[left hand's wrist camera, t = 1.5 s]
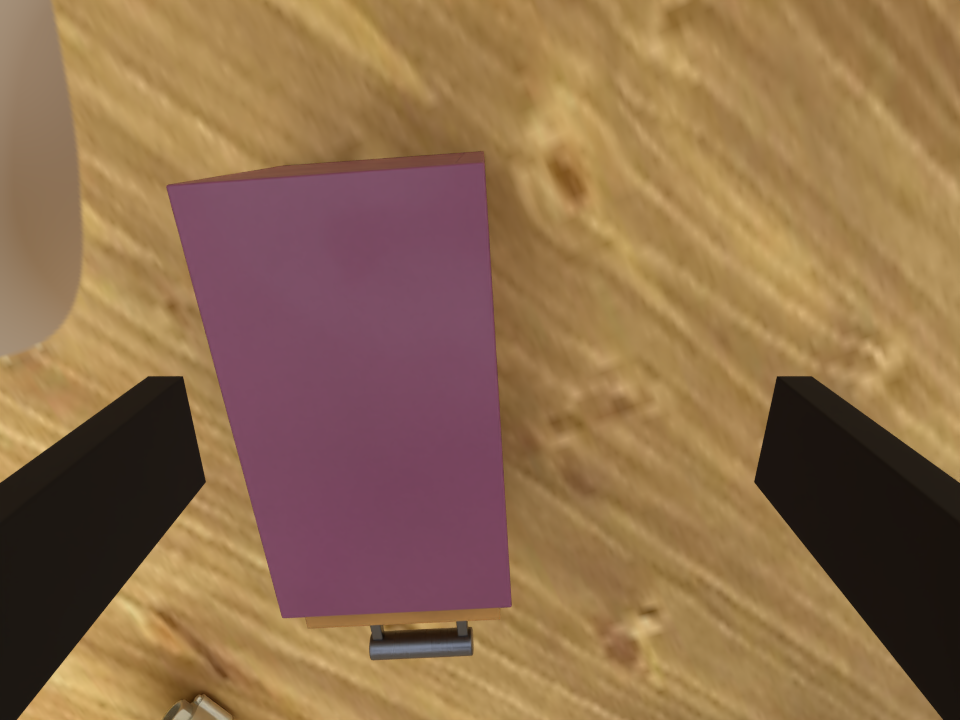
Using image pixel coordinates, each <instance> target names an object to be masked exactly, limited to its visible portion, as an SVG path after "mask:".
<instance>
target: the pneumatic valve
mask: <svg viewBox="0 0 960 720" xmlns="http://www.w3.org/2000/svg"><path fill="white" fill-rule="evenodd" d="M232 718H233V716H232V715H231V714H230V713H228V712H227V711H226V710H224V709H223V708H222V707H220V706H219V705H218V704H216V703H215V702H214V701H213V700H211V699H210V698H209V697H207V696H206V695H205V694H203V695H200V694H199V695H197V696H196V697H195V699H194V701H193V702H191V703H189V702H188V701H186V700H185V699H183V700H180V701H178V702H176V703H175V704H174V705H173V706H172V707H171V708H170V709H169V710H168V711H167V713H166V714H165V715H164V717H163V719H162V720H233V719H232Z"/></svg>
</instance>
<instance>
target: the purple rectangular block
mask: <svg viewBox="0 0 960 720" xmlns="http://www.w3.org/2000/svg"><path fill="white" fill-rule="evenodd" d="M167 191H168V195H169V199H170V202H171V206H172V210H173V214H174V217H175V221H176V225H177V228H178V232H179V236H180V240H181V243H182V247H183V251H184V254H185V258H186V262H187V266H188V269H189V273H190V277H191V280H192V284H193V288H194V292H195V295H196V299H197V303H198V306H199V310H200V314H201V318H202V321H203V325H204V329H205V332H206V336H207V340H208V344H209V347H210V351H211V355H212V359H213V362H214V366H215V370H216V373H217V377H218V381H219V385H220V388H221V392H222V396H223V399H224V403H225V407H226V411H227V414H228V418H229V422H230V425H231V429H232V433H233V437H234V440H235V444H236V448H237V451H238V455H239V459H240V463H241V466H242V470H243V474H244V477H245V481H246V485H247V489H248V492H249V496H250V500H251V504H252V507H253V511H254V515H255V518H256V522H257V526H258V530H259V533H260V537H261V541H262V544H263V548H264V552H265V556H266V559H267V563H268V567H269V570H270V574H271V578H272V582H273V585H274V589H275V593H276V596H277V600H278V604H279V608H280V611H281V615H282V618H297V617H318V616H338V615H359V614H380V613H400V612H421V611H442V610H463V609H483V608H504V607H511V605H512V603H511V586H510V570H509V554H508V537H507V521H506V505H505V488H504V472H503V456H502V439H501V423H500V407H499V390H498V374H497V358H496V341H495V325H494V309H493V292H492V276H491V260H490V243H489V227H488V211H487V194H486V178H485V162H484V152H483V151H480V152H466V153H453V154H439V155H425V156H411V157H397V158H384V159H370V160H356V161H342V162H328V163H315V164H301V165H287V166H279V167H273V168H266V169H260V170H254V171H248V172H242V173H236V174H230V175H224V176H218V177H212V178H205V179H199V180H193V181H187V182H182V183H175V184H169V185H167Z"/></svg>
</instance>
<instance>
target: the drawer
mask: <svg viewBox="0 0 960 720" xmlns="http://www.w3.org/2000/svg"><path fill="white" fill-rule="evenodd" d="M305 619H306V623H307V627H308V628H328V627H349V626H369V625H370V627H371V632H372V634H371V637H370V645H369V652H370V658H371V660H389V659H410V658H432V657H454V656H472V655H473V630H472V627H468V621H474V620H495V619H500V608H483V609H463V610H442V611H421V612H400V613H380V614H359V615H338V616H318V617H305ZM453 621H456V623H457V628H439V629H418V630H397V631H384V628H383V625H390V624H411V623H432V622H453Z"/></svg>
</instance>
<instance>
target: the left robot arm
mask: <svg viewBox="0 0 960 720" xmlns="http://www.w3.org/2000/svg"><path fill="white" fill-rule="evenodd" d="M205 482H206V481H205V476H204V472H203V467H202V462H201V458H200V453H199V448H198V444H197V439H196V435H195V430H194V425H193V421H192V416H191V411H190V407H189V402H188V398H187V393H186V388H185V384H184V379H183V376H148V377H147V378H145V379H144V380H143V381H141V382H140V383H138V384H137V385H136V386H134V387H133V388H132V389H130V390H129V391H127V392H126V393H125V394H123V395H122V396H120V397H119V398H118V399H116V400H115V401H113V402H112V403H111V404H109V405H108V406H107V407H105V408H104V409H102V410H101V411H100V412H98V413H97V414H95V415H94V416H93V417H91V418H90V419H88V420H87V421H86V422H84V423H83V424H82V425H80V426H79V427H77V428H76V429H75V430H73V431H72V432H70V433H69V434H68V435H66V436H65V437H63V438H62V439H61V440H59V441H58V442H57V443H55V444H54V445H52V446H51V447H50V448H48V449H47V450H45V451H44V452H43V453H41V454H40V455H39V456H37V457H36V458H34V459H33V460H32V461H30V462H29V463H27V464H26V465H25V466H23V467H22V468H20V469H19V470H18V471H16V472H15V473H14V474H12V475H11V476H9V477H8V478H7V479H5V480H4V481H2V482H1V483H0V720H17V719H18V718H19V716H20V715H21V714H22V712H23V711H24V710H25V709H26V707H27V706H28V705H29V704H30V702H31V701H32V700H33V699H34V697H35V696H36V695H37V694H38V692H39V691H40V690H41V689H42V687H43V686H44V685H45V684H46V682H47V681H48V680H49V679H50V677H51V676H52V675H53V674H54V672H55V671H56V670H57V669H58V667H59V666H60V665H61V663H62V662H63V661H64V660H65V658H66V657H67V656H68V655H69V653H70V652H71V651H72V650H73V648H74V647H75V646H76V645H77V643H78V642H79V641H80V640H81V638H82V637H83V636H84V635H85V633H86V632H87V631H88V630H89V628H90V627H91V626H92V625H93V623H94V622H95V621H96V619H97V618H98V617H99V616H100V614H101V613H102V612H103V611H104V609H105V608H106V607H107V606H108V604H109V603H110V602H111V601H112V599H113V598H114V597H115V596H116V594H117V593H118V592H119V591H120V589H121V588H122V587H123V586H124V584H125V583H126V582H127V581H128V579H129V578H130V577H131V575H132V574H133V573H134V572H135V570H136V569H137V568H138V567H139V565H140V564H141V563H142V562H143V560H144V559H145V558H146V557H147V555H148V554H149V553H150V552H151V550H152V549H153V548H154V547H155V545H156V544H157V543H158V542H159V540H160V539H161V538H162V537H163V535H164V534H165V533H166V532H167V530H168V529H169V528H170V526H171V525H172V524H173V523H174V521H175V520H176V519H177V518H178V516H179V515H180V514H181V513H182V511H183V510H184V509H185V508H186V506H187V505H188V504H189V503H190V501H191V500H192V499H193V498H194V496H195V495H196V494H197V493H198V491H199V490H200V489H201V488H202V486H203V485H204V484H205ZM754 482H755V484H756V485H757V486H758V488H759V489H760V490H761V491H762V493H763V494H764V495H765V496H766V498H767V499H768V500H769V501H770V503H771V504H772V505H773V506H774V508H775V509H776V510H777V511H778V513H779V514H780V515H781V516H782V518H783V519H784V520H785V521H786V523H787V524H788V525H789V526H790V528H791V529H792V530H793V532H794V533H795V534H796V535H797V537H798V538H799V539H800V540H801V542H802V543H803V544H804V545H805V547H806V548H807V549H808V550H809V552H810V553H811V554H812V555H813V557H814V558H815V559H816V560H817V562H818V563H819V564H820V565H821V567H822V568H823V569H824V570H825V572H826V573H827V574H828V575H829V577H830V578H831V579H832V581H833V582H834V583H835V584H836V586H837V587H838V588H839V589H840V591H841V592H842V593H843V594H844V596H845V597H846V598H847V599H848V601H849V602H850V603H851V604H852V606H853V607H854V608H855V609H856V611H857V612H858V613H859V614H860V616H861V617H862V618H863V619H864V621H865V622H866V623H867V625H868V626H869V627H870V628H871V630H872V631H873V632H874V633H875V635H876V636H877V637H878V638H879V640H880V641H881V642H882V643H883V645H884V646H885V647H886V648H887V650H888V651H889V652H890V653H891V655H892V656H893V657H894V658H895V660H896V661H897V662H898V663H899V665H900V666H901V667H902V669H903V670H904V671H905V672H906V674H907V675H908V676H909V677H910V679H911V680H912V681H913V682H914V684H915V685H916V686H917V687H918V689H919V690H920V691H921V692H922V694H923V695H924V696H925V697H926V699H927V700H928V701H929V702H930V704H931V705H932V706H933V707H934V709H935V710H936V711H937V712H938V714H939V715H940V716H941V718H942V719H943V720H960V483H959V482H958V481H956V480H955V479H953V478H952V477H951V476H949V475H948V474H946V473H945V472H944V471H942V470H941V469H940V468H938V467H937V466H935V465H934V464H933V463H931V462H930V461H928V460H927V459H926V458H924V457H923V456H921V455H920V454H919V453H917V452H916V451H915V450H913V449H912V448H910V447H909V446H908V445H906V444H905V443H903V442H902V441H901V440H899V439H898V438H897V437H895V436H894V435H892V434H891V433H890V432H888V431H887V430H885V429H884V428H883V427H881V426H880V425H878V424H877V423H876V422H874V421H873V420H872V419H870V418H869V417H867V416H866V415H865V414H863V413H862V412H860V411H859V410H858V409H856V408H855V407H853V406H852V405H851V404H849V403H848V402H847V401H845V400H844V399H842V398H841V397H840V396H838V395H837V394H835V393H834V392H833V391H831V390H830V389H828V388H827V387H826V386H824V385H823V384H822V383H820V382H819V381H817V380H816V379H815V378H813V377H812V376H777V379H776V384H775V388H774V393H773V398H772V402H771V407H770V411H769V416H768V421H767V425H766V430H765V435H764V439H763V444H762V448H761V453H760V458H759V462H758V467H757V472H756V476H755V481H754Z"/></svg>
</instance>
